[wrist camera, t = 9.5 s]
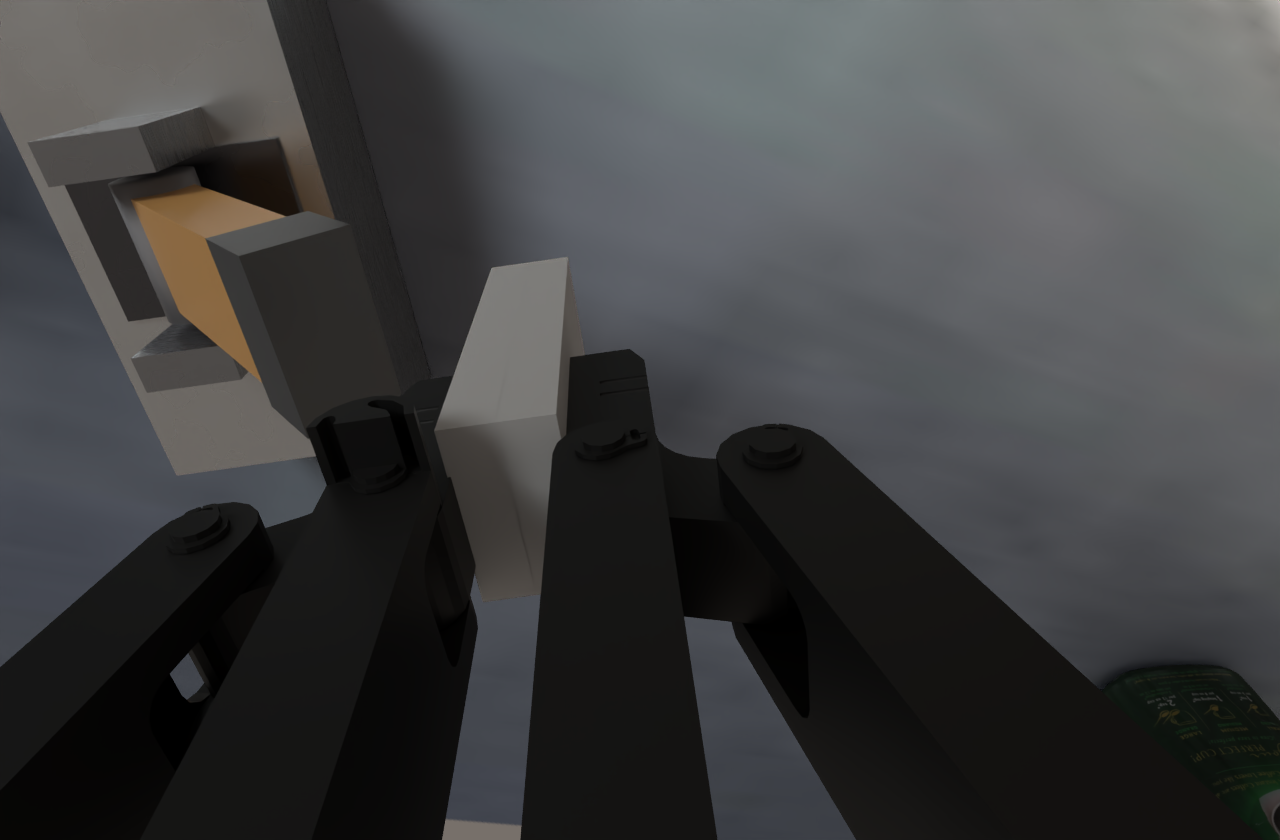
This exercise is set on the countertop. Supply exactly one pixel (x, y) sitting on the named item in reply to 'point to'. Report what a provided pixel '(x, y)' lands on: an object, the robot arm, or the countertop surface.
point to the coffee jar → (1211, 734)
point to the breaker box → (224, 162)
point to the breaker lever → (262, 290)
